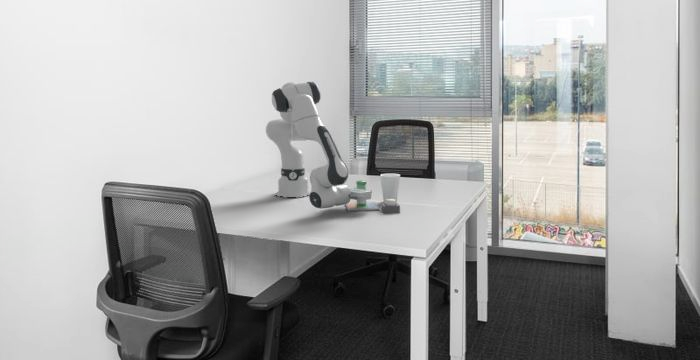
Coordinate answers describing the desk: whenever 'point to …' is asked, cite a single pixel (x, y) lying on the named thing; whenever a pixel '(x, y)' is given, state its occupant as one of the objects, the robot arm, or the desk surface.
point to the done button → (390, 202)
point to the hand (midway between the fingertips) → (362, 190)
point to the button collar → (390, 208)
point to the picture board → (362, 207)
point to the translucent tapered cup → (390, 186)
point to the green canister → (361, 185)
